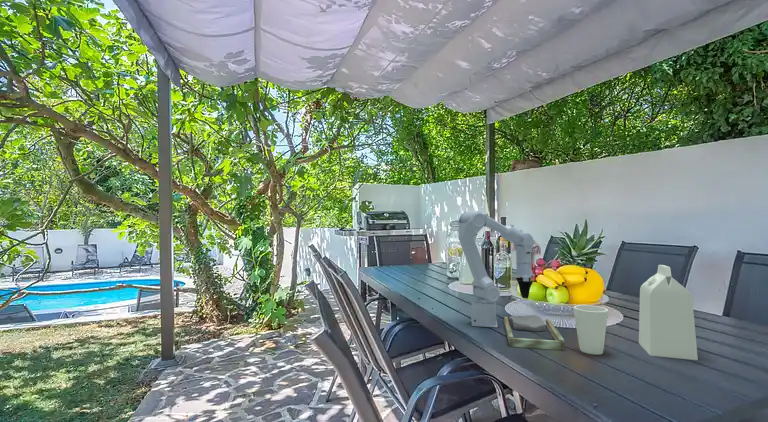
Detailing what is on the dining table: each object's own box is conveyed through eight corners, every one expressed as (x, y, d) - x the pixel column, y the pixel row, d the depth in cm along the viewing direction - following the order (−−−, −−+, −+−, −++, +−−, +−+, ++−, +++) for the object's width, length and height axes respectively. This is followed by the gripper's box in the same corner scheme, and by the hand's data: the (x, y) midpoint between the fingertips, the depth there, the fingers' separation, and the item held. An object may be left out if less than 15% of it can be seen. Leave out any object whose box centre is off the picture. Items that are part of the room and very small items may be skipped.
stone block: (548, 336, 137) (539, 324, 147) (548, 324, 136) (539, 312, 146) (514, 337, 138) (508, 324, 148) (514, 325, 138) (507, 313, 147)
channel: (508, 346, 122) (508, 337, 122) (504, 322, 149) (503, 315, 149) (565, 350, 117) (565, 341, 117) (549, 325, 145) (549, 318, 145)
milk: (697, 360, 109) (695, 269, 109) (650, 355, 112) (648, 267, 113) (681, 346, 120) (679, 264, 120) (638, 343, 124) (636, 263, 124)
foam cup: (605, 347, 120) (604, 306, 120) (612, 357, 111) (611, 313, 111) (572, 344, 123) (571, 304, 123) (576, 354, 114) (575, 310, 114)
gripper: (536, 265, 145) (537, 300, 145) (532, 261, 159) (532, 293, 159) (517, 264, 147) (518, 300, 147) (514, 260, 161) (515, 293, 161)
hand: (524, 296), depth 153 cm, fingers open, 5 cm apart
